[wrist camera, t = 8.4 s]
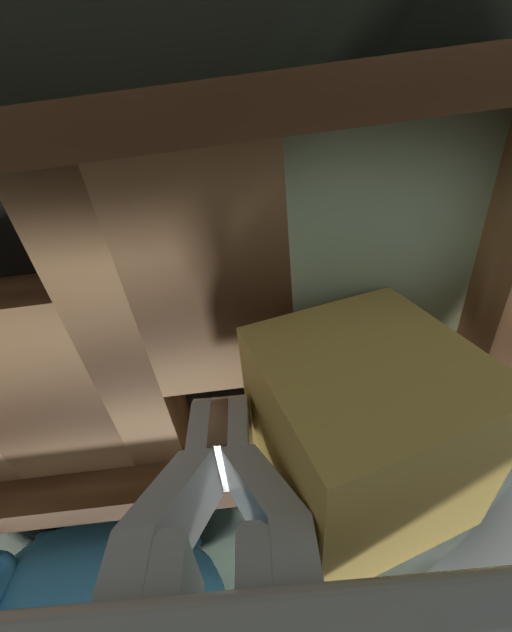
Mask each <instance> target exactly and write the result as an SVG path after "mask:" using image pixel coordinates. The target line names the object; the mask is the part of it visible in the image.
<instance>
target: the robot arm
mask: <svg viewBox="0 0 512 632" xmlns="http://www.w3.org/2000/svg"><path fill="white" fill-rule="evenodd" d="M223 492H230V495H231V496H232V498H233V500H234V501H235V503H236V505H237V507H238V508H239V510H240V512H241V513H242V515H243V517H244V519H245V520H246V521H241V522H240V524H239V525H238V526H237V527H236V541H235V590H223V591H212V592H204V581H203V578H202V576H201V573H200V570H199V567H198V564H197V561H196V559H195V556H194V553H193V548H194V546H195V544H196V543H197V541H198V539H199V537H200V536H201V534H202V532H203V530H204V528H205V527H206V525H207V523H208V521H209V519H210V518H211V516H212V514H213V512H214V511H215V509H216V507H217V505H218V503H219V502H220V500H221V498H222V496H223ZM0 632H512V565H506V566H495V567H483V568H473V569H461V570H451V571H438V572H427V573H415V574H404V575H393V576H382V577H370V578H359V579H348V580H336V581H325V582H324V577H323V571H322V566H321V560H320V555H319V549H318V544H317V538H316V533H315V527H314V521H313V516H312V513H311V512H310V510H309V509H308V508H307V507H306V506H305V504H304V503H303V502H302V501H301V499H300V498H299V497H298V496H297V495H296V493H295V492H294V491H293V490H292V489H291V487H290V486H289V485H288V484H287V482H286V481H285V480H284V479H283V478H282V476H281V475H280V474H279V473H278V472H277V470H276V469H275V468H274V467H273V465H272V464H271V463H270V462H269V461H268V459H267V458H266V457H265V456H264V455H263V453H262V452H261V451H260V450H259V448H258V447H257V446H256V445H255V444H253V430H252V420H251V416H250V404H249V397H248V395H247V394H244V395H234V396H224V397H212V398H199V399H193V401H192V402H191V407H190V416H189V423H188V427H187V434H186V441H185V450H181V451H178V452H177V454H176V455H175V456H174V457H173V458H172V459H171V461H170V462H169V463H168V464H167V465H166V467H165V468H164V469H163V470H162V471H161V472H160V474H159V475H158V476H157V477H156V478H155V479H154V481H153V482H152V483H151V484H150V485H149V486H148V488H147V489H146V490H145V491H144V492H143V494H142V495H141V496H140V497H139V498H138V499H137V501H136V502H135V503H134V504H133V505H132V506H131V508H130V509H129V510H128V511H127V512H126V514H125V515H124V516H123V517H122V518H121V519H120V521H119V522H118V523H117V524H116V525H115V526H114V528H113V529H112V530H111V532H110V536H109V539H108V542H107V546H106V549H105V553H104V556H103V560H102V563H101V567H100V570H99V574H98V577H97V580H96V584H95V587H94V591H93V594H92V598H91V601H90V602H88V603H77V604H65V605H54V606H43V607H32V608H21V609H9V610H0Z"/></svg>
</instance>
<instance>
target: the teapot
mask: <svg viewBox="0 0 512 632" xmlns="http://www.w3.org/2000/svg"><path fill="white" fill-rule="evenodd" d="M119 521H120V520H118V521H109V522H100V523H91V524H82V525H74V526H66V527H63V528H60V529H57V530H54V531H43V532H40V533H38V534H37V535H36V536H35V540H34V541H32V542H31V543H29V544H28V545H27V546H26V547H24V548H23V549H22V550H21V551H20V552H18V553H17V554H16V555H13V554H11V553H10V552H8V551H4V550H0V610H9V609H21V608H32V607H43V606H54V605H65V604H77V603H88V602H90V601H91V598H92V594H93V591H94V587H95V584H96V580H97V577H98V574H99V570H100V567H101V563H102V560H103V556H104V553H105V549H106V546H107V542H108V539H109V536H110V532H111V530H112V529H113V528H114V526H115V525H116V524H117V523H118V522H119ZM201 544H202V539H201V538H200V537H199V539H198V541H197V543H196V544H195V546H194V548H193V553H194V556H195V559H196V561H197V564H198V567H199V570H200V573H201V576H202V578H203V581H204V592H212V591H223V590H225V588H224V584H223V582H222V579H221V577H220V575H219V573H218V571H217V569H216V567H215V565H214V564H213V562H212V560H211V558H210V557H209V556H208V555H207V554H206V553H205V552H204V551H202V550H201V549H199V547H200V546H201Z"/></svg>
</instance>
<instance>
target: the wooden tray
mask: <svg viewBox="0 0 512 632" xmlns="http://www.w3.org/2000/svg"><path fill="white" fill-rule="evenodd" d="M386 287H390V288H392V289H393V290H395V291H396V292H398V293H399V294H401V295H402V296H404V297H405V298H407V299H408V300H410V301H411V302H413V303H414V304H416V305H417V306H418V307H420V308H421V309H423V310H424V311H426V312H427V313H429V314H430V315H432V316H433V317H435V318H436V319H438V320H439V321H441V322H442V323H444V324H445V325H446V326H448V327H449V328H451V329H452V330H454V331H455V332H457V333H458V334H460V335H461V336H463V337H464V338H466V339H467V340H469V341H470V342H471V343H473V344H474V345H476V346H477V347H479V348H480V349H482V350H483V351H485V352H486V353H488V354H489V355H491V356H492V357H494V358H495V359H497V360H498V361H499V362H501V363H502V364H504V365H505V366H507V367H508V368H510V369H511V370H512V38H509V39H501V40H494V41H486V42H479V43H471V44H464V45H456V46H449V47H441V48H434V49H426V50H419V51H411V52H403V53H396V54H388V55H381V56H373V57H366V58H358V59H351V60H343V61H336V62H328V63H321V64H313V65H306V66H298V67H291V68H283V69H276V70H268V71H261V72H253V73H245V74H238V75H230V76H223V77H215V78H208V79H200V80H193V81H185V82H178V83H170V84H163V85H155V86H148V87H140V88H133V89H125V90H118V91H110V92H102V93H95V94H87V95H80V96H72V97H65V98H57V99H50V100H42V101H35V102H27V103H20V104H12V105H5V106H0V534H3V533H12V532H21V531H30V530H39V529H47V528H56V527H65V526H74V525H82V524H91V523H100V522H109V521H118V520H120V519H121V518H122V517H123V516H124V515H125V514H126V512H127V511H128V510H129V509H130V508H131V506H132V505H133V504H134V503H135V502H136V501H137V499H138V498H139V497H140V496H141V495H142V494H143V492H144V491H145V490H146V489H147V488H148V486H149V485H150V484H151V483H152V482H153V481H154V479H155V478H156V477H157V476H158V475H159V474H160V472H161V471H162V470H163V469H164V468H165V467H166V465H167V464H168V463H169V462H170V461H171V459H172V458H173V457H174V456H175V455H176V454H177V452H178V451H181V450H185V441H186V434H187V427H188V423H189V416H190V407H191V402H192V401H193V399H199V398H212V397H224V396H234V395H244V394H245V393H244V385H243V377H242V369H241V361H240V354H239V346H238V338H237V330H236V328H237V327H241V326H245V325H248V324H252V323H256V322H260V321H263V320H267V319H271V318H274V317H278V316H282V315H286V314H289V313H293V312H297V311H301V310H304V309H308V308H312V307H315V306H319V305H323V304H327V303H330V302H334V301H338V300H341V299H345V298H349V297H353V296H356V295H360V294H364V293H367V292H371V291H375V290H379V289H382V288H386ZM232 507H237V505H236V503H235V501H234V500H233V498H232V496H231V495H230V492H223V496H222V498H221V500H220V502H219V503H218V505H217V507H216V509H223V508H232Z"/></svg>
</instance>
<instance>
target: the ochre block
mask: <svg viewBox="0 0 512 632" xmlns="http://www.w3.org/2000/svg"><path fill="white" fill-rule="evenodd" d="M236 330H237V338H238V346H239V354H240V361H241V369H242V377H243V385H244V393H245V394H247V395H248V397H249V404H250V416H251V420H252V430H253V444H255V445H256V446H257V447H258V448H259V450H260V451H261V452H262V453H263V455H264V456H265V457H266V458H267V459H268V461H269V462H270V463H271V464H272V465H273V467H274V468H275V469H276V470H277V472H278V473H279V474H280V475H281V476H282V478H283V479H284V480H285V481H286V482H287V484H288V485H289V486H290V487H291V489H292V490H293V491H294V492H295V493H296V495H297V496H298V497H299V498H300V499H301V501H302V502H303V503H304V504H305V506H306V507H307V508H308V509H309V510H310V512H311V513H312V516H313V521H314V527H315V533H316V538H317V544H318V549H319V555H320V560H321V566H322V571H323V577H324V582H325V581H336V580H348V579H359V578H370V577H375V576H377V575H379V574H381V573H383V572H385V571H387V570H389V569H391V568H393V567H395V566H397V565H399V564H401V563H403V562H405V561H407V560H409V559H411V558H413V557H415V556H417V555H419V554H421V553H423V552H425V551H427V550H429V549H431V548H433V547H435V546H437V545H439V544H441V543H443V542H445V541H447V540H449V539H451V538H453V537H454V536H456V535H458V534H460V533H462V532H464V531H466V530H468V529H470V528H472V527H474V526H476V525H478V524H480V523H481V521H482V520H483V518H484V516H485V514H486V513H487V511H488V509H489V507H490V505H491V504H492V502H493V500H494V498H495V496H496V495H497V493H498V491H499V489H500V488H501V486H502V484H503V482H504V480H505V479H506V477H507V475H508V473H509V472H510V470H511V468H512V370H511V369H510V368H508V367H507V366H505V365H504V364H502V363H501V362H499V361H498V360H497V359H495V358H494V357H492V356H491V355H489V354H488V353H486V352H485V351H483V350H482V349H480V348H479V347H477V346H476V345H474V344H473V343H471V342H470V341H469V340H467V339H466V338H464V337H463V336H461V335H460V334H458V333H457V332H455V331H454V330H452V329H451V328H449V327H448V326H446V325H445V324H444V323H442V322H441V321H439V320H438V319H436V318H435V317H433V316H432V315H430V314H429V313H427V312H426V311H424V310H423V309H421V308H420V307H418V306H417V305H416V304H414V303H413V302H411V301H410V300H408V299H407V298H405V297H404V296H402V295H401V294H399V293H398V292H396V291H395V290H393V289H392V288H390V287H386V288H382V289H379V290H375V291H371V292H367V293H364V294H360V295H356V296H353V297H349V298H345V299H341V300H338V301H334V302H330V303H327V304H323V305H319V306H315V307H312V308H308V309H304V310H301V311H297V312H293V313H289V314H286V315H282V316H278V317H274V318H271V319H267V320H263V321H260V322H256V323H252V324H248V325H245V326H241V327H237V328H236Z"/></svg>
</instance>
